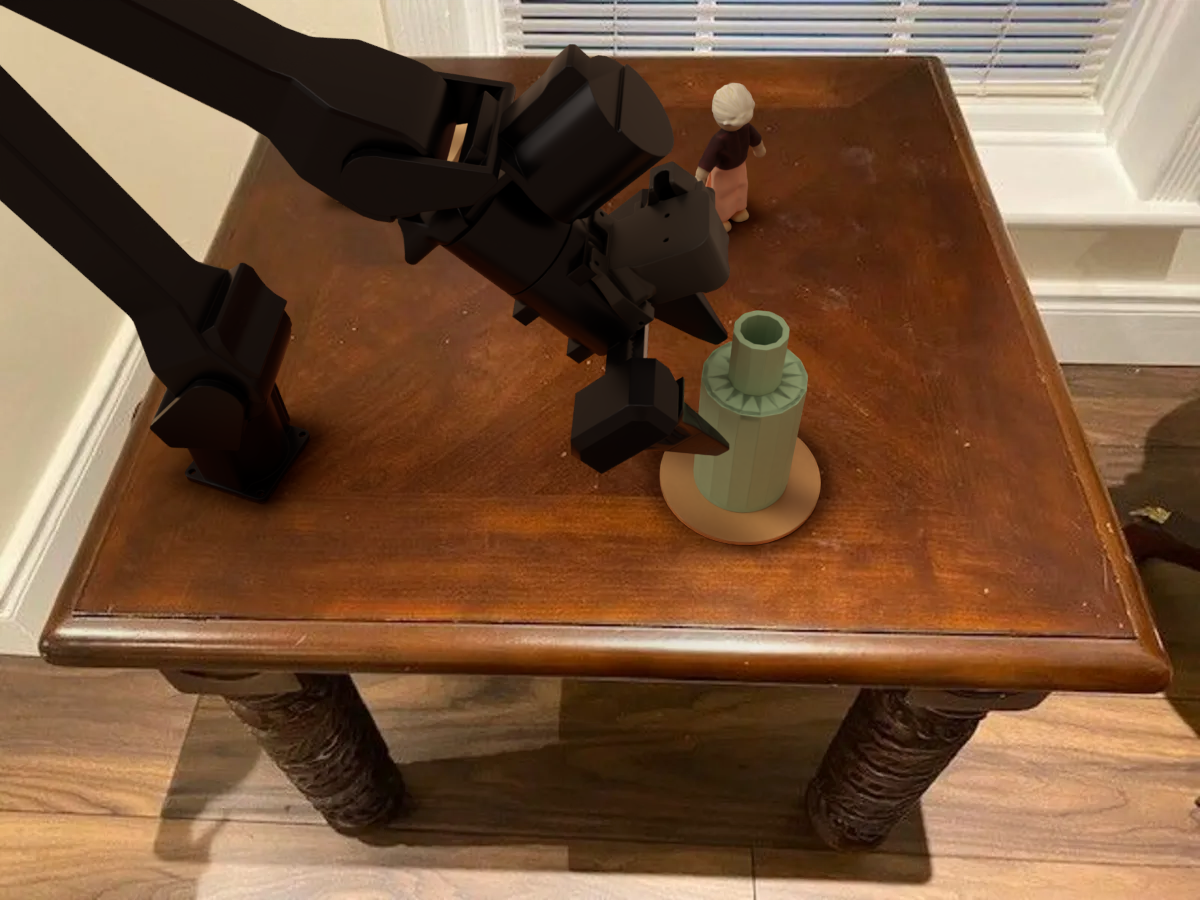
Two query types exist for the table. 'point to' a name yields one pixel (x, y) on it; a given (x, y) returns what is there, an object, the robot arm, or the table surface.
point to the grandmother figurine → (730, 152)
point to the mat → (738, 525)
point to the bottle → (751, 414)
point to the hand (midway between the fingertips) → (723, 393)
